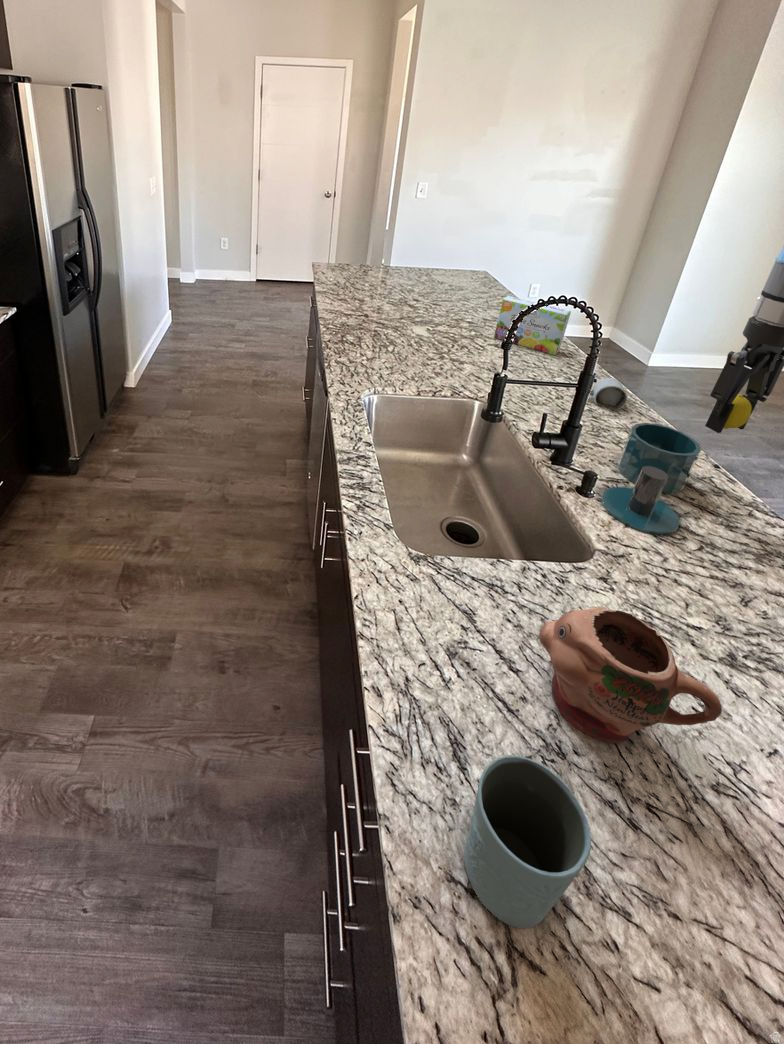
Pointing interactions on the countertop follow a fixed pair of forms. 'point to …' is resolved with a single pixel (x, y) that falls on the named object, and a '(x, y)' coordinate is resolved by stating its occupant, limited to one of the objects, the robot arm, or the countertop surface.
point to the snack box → (533, 325)
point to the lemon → (738, 412)
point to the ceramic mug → (609, 393)
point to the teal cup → (524, 840)
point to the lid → (642, 504)
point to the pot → (659, 454)
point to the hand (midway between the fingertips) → (724, 427)
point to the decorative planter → (617, 675)
